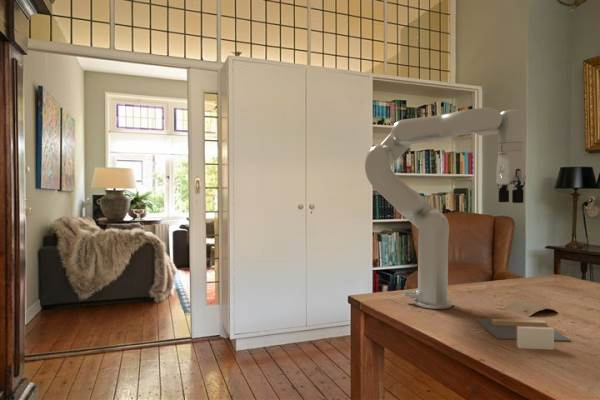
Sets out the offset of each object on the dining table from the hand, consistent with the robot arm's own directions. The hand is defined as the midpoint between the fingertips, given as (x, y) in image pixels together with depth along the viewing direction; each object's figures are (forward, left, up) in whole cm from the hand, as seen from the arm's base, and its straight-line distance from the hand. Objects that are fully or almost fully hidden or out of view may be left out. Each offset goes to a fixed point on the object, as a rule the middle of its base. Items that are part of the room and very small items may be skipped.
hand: (510, 202), depth 131 cm
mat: (-5, -20, -35) cm, 40 cm away
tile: (-7, -33, -35) cm, 49 cm away
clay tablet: (+7, 0, -36) cm, 36 cm away
